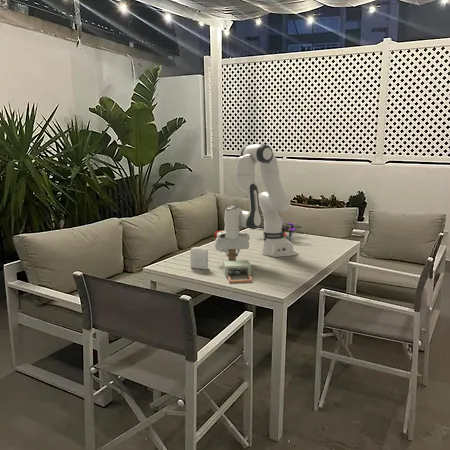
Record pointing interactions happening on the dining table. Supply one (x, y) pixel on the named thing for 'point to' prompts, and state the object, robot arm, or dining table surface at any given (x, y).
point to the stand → (236, 266)
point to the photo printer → (199, 258)
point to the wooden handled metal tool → (232, 255)
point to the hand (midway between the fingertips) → (232, 256)
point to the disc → (236, 271)
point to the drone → (286, 228)
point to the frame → (240, 280)
